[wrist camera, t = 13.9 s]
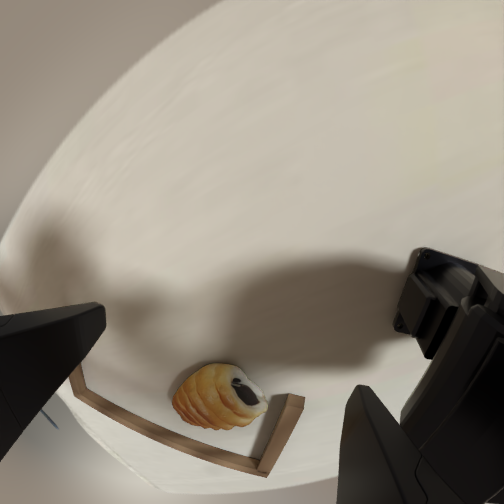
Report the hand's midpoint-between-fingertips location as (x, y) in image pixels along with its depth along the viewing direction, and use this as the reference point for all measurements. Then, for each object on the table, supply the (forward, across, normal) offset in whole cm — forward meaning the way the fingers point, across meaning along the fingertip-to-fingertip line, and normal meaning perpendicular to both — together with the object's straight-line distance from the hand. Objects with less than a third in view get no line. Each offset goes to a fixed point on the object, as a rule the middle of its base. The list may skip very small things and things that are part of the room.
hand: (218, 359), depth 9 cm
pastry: (+12, +2, +14) cm, 19 cm away
